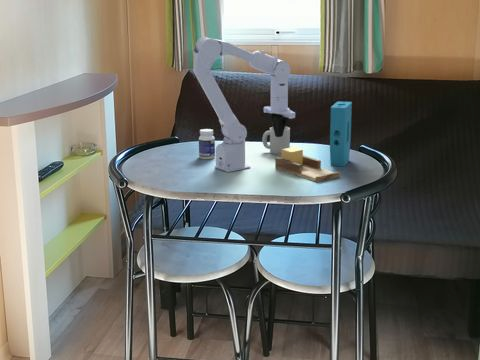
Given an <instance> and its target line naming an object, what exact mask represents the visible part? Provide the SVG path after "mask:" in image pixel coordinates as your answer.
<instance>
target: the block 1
mask: <svg viewBox="0 0 480 360" xmlns="http://www.w3.org/2000/svg"><path fill="white" fill-rule="evenodd" d="M280 156H281V157H280V158H282V159H285V160H288V161H291V162H295V163H298V164H301V165H303V156H304V150H303V149H301V148H298V147H293V146H292V147H291V146H290V148H286V149H282V150H281V155H280Z"/></svg>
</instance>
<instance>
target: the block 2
mask: <svg viewBox="0 0 480 360" xmlns="http://www.w3.org/2000/svg"><path fill="white" fill-rule="evenodd" d="M352 105H353V102H352V101H336V102H335V103H334V104H333V105H332V106H330V124H329V125H330V127H329V128H330V130H329V152H330V153H329V161H330V162H329V163H330V165H331V166H336V167H345V166H346V165H347V164H348V163H349V161H350V152H351V151H350V150H351V149H350V148H351V137H352Z"/></svg>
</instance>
